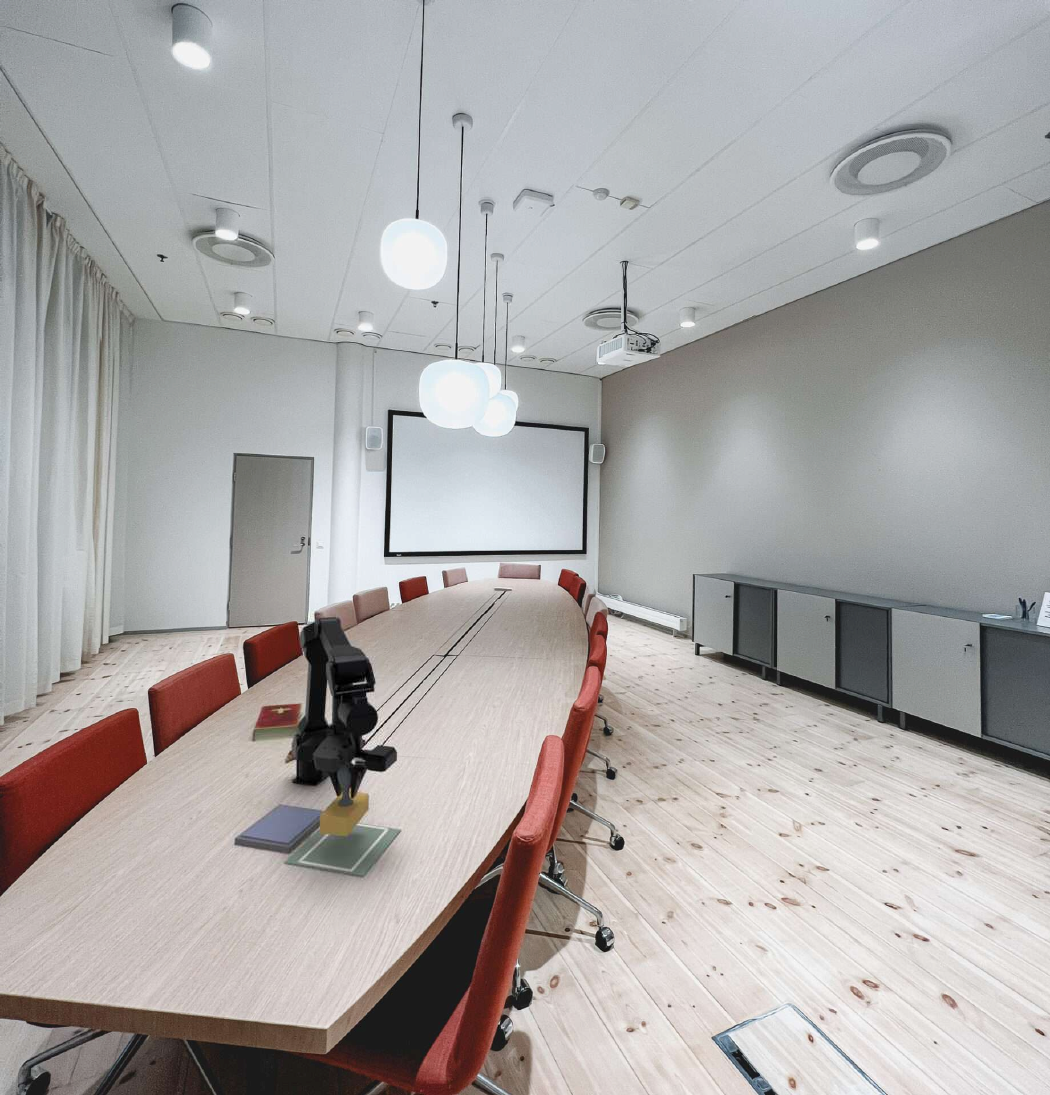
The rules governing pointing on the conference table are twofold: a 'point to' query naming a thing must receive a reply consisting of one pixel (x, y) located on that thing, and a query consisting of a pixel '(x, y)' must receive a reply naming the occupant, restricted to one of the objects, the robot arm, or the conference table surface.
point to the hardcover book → (277, 722)
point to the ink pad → (281, 829)
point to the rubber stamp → (344, 807)
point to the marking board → (345, 850)
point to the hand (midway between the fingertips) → (346, 796)
